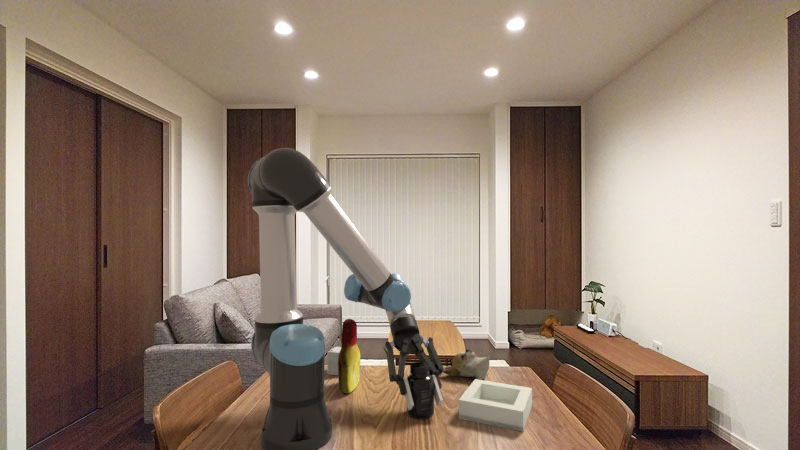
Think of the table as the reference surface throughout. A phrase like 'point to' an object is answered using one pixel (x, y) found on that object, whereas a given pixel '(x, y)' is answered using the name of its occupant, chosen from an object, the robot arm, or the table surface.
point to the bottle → (349, 357)
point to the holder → (496, 404)
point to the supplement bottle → (421, 391)
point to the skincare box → (333, 360)
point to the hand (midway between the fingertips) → (425, 404)
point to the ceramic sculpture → (468, 365)
